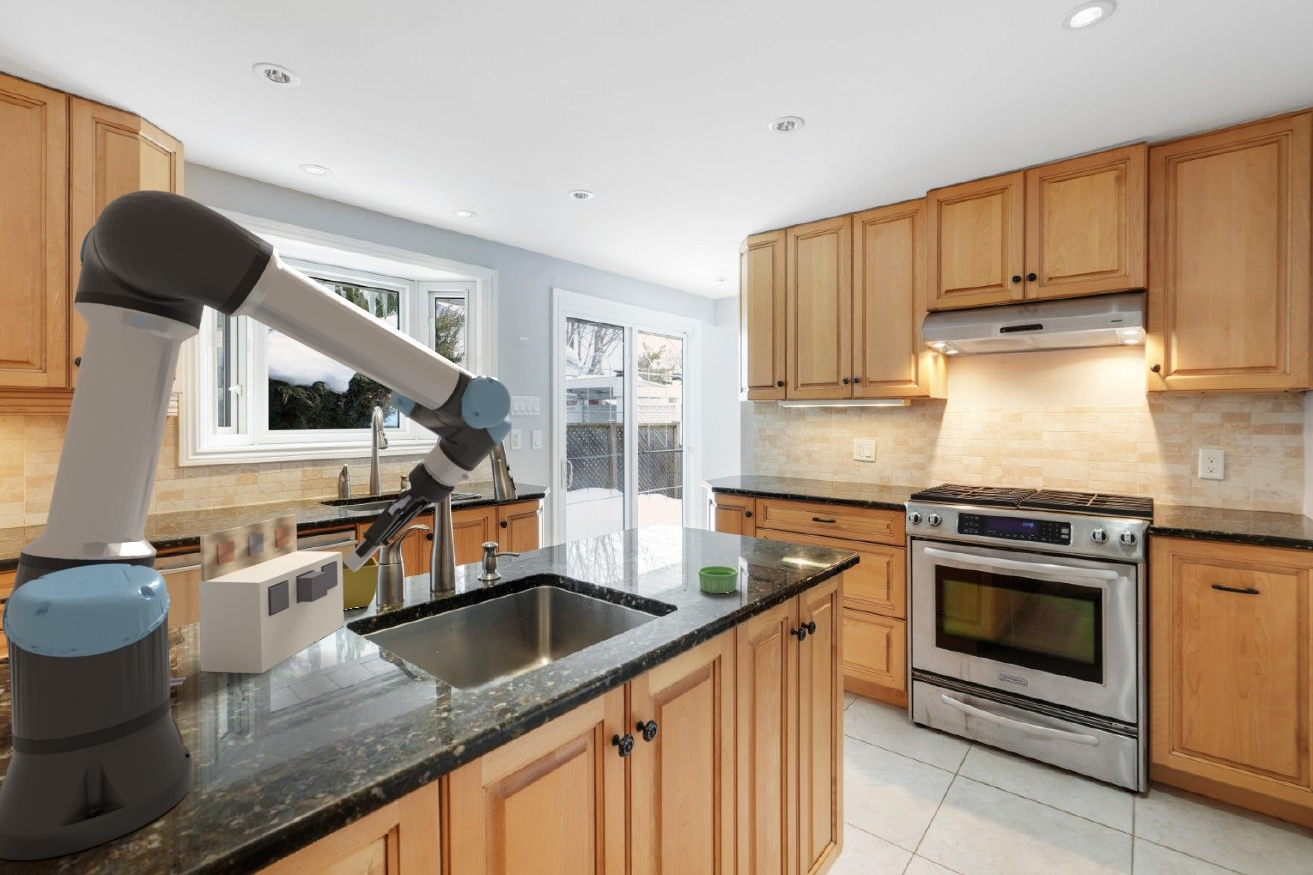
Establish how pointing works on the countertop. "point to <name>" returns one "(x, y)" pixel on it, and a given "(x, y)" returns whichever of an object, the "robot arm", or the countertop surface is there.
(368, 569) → the flower pot
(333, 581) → the right button
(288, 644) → the console
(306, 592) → the middle button
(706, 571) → the ramekin
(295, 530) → the pattern sign
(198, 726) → the countertop surface
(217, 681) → the countertop surface
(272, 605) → the left button
